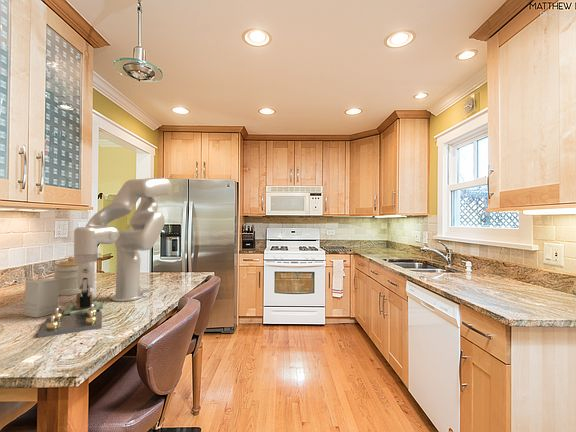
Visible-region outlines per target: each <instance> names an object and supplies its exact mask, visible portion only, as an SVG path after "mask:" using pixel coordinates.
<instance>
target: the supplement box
mask: <svg viewBox="0 0 576 432" xmlns="http://www.w3.org/2000/svg"><path fill="white" fill-rule="evenodd" d="M24 285H25V288H24V289H25V290H24V307H23V308H24V312H23V313H24V314H23V315H24V317H31V318H41V317H44V316H49V315H52V314H55V310H56V308H59V296H60V295H59V279H54V278H47V277H46V278H38V279H34V280H28V281H25V284H24Z"/></svg>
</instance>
